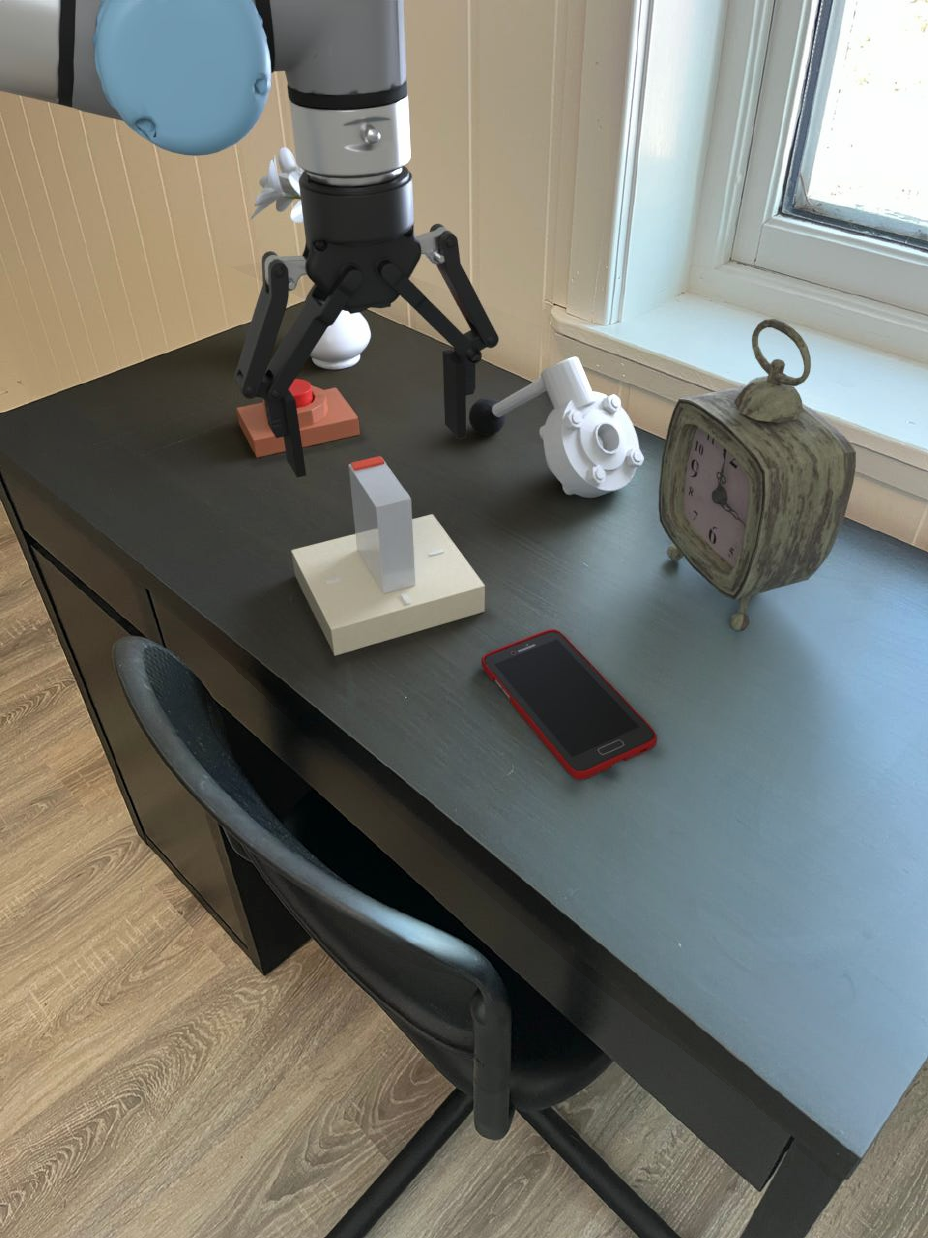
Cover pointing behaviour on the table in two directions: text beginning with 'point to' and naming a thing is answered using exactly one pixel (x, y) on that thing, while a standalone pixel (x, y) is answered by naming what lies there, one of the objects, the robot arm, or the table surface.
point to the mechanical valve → (574, 430)
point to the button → (301, 392)
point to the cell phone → (568, 703)
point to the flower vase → (349, 329)
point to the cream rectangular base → (369, 616)
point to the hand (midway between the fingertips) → (378, 449)
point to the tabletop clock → (754, 482)
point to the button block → (301, 422)
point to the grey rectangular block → (382, 524)
